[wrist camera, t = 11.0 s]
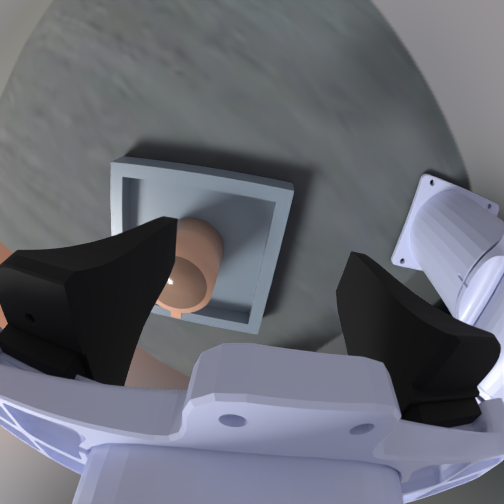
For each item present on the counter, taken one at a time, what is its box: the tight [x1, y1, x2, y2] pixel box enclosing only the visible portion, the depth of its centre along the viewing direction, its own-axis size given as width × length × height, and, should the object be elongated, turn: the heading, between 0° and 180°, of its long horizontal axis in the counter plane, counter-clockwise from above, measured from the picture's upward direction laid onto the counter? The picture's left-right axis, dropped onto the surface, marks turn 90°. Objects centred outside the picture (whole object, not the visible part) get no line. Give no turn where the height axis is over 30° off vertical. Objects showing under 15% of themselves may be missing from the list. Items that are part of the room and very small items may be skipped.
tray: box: [111, 156, 294, 335], centre depth 23 cm, size 13×13×2 cm
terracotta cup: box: [156, 218, 224, 319], centre depth 21 cm, size 5×6×5 cm
